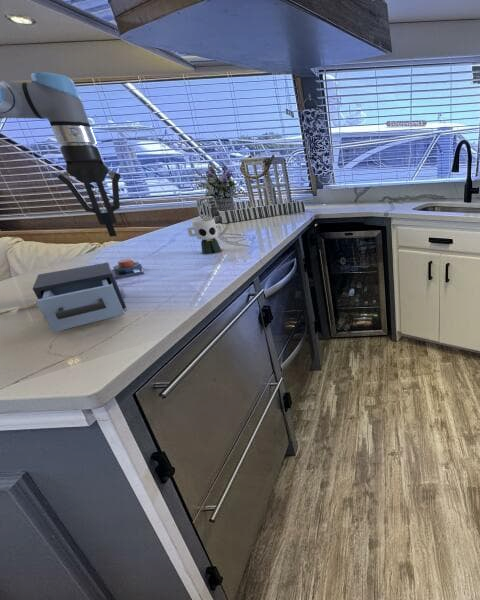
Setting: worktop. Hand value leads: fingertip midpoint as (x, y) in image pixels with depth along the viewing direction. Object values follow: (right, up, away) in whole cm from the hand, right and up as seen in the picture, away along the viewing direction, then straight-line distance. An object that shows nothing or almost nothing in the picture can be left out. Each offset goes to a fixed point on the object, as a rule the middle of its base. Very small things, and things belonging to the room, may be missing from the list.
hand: (113, 235), depth 93 cm
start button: (+1, -9, +4) cm, 9 cm away
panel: (-1, -13, +4) cm, 13 cm away
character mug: (+14, -2, +26) cm, 30 cm away
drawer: (+16, -23, -23) cm, 36 cm away
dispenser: (+9, -21, -16) cm, 27 cm away
